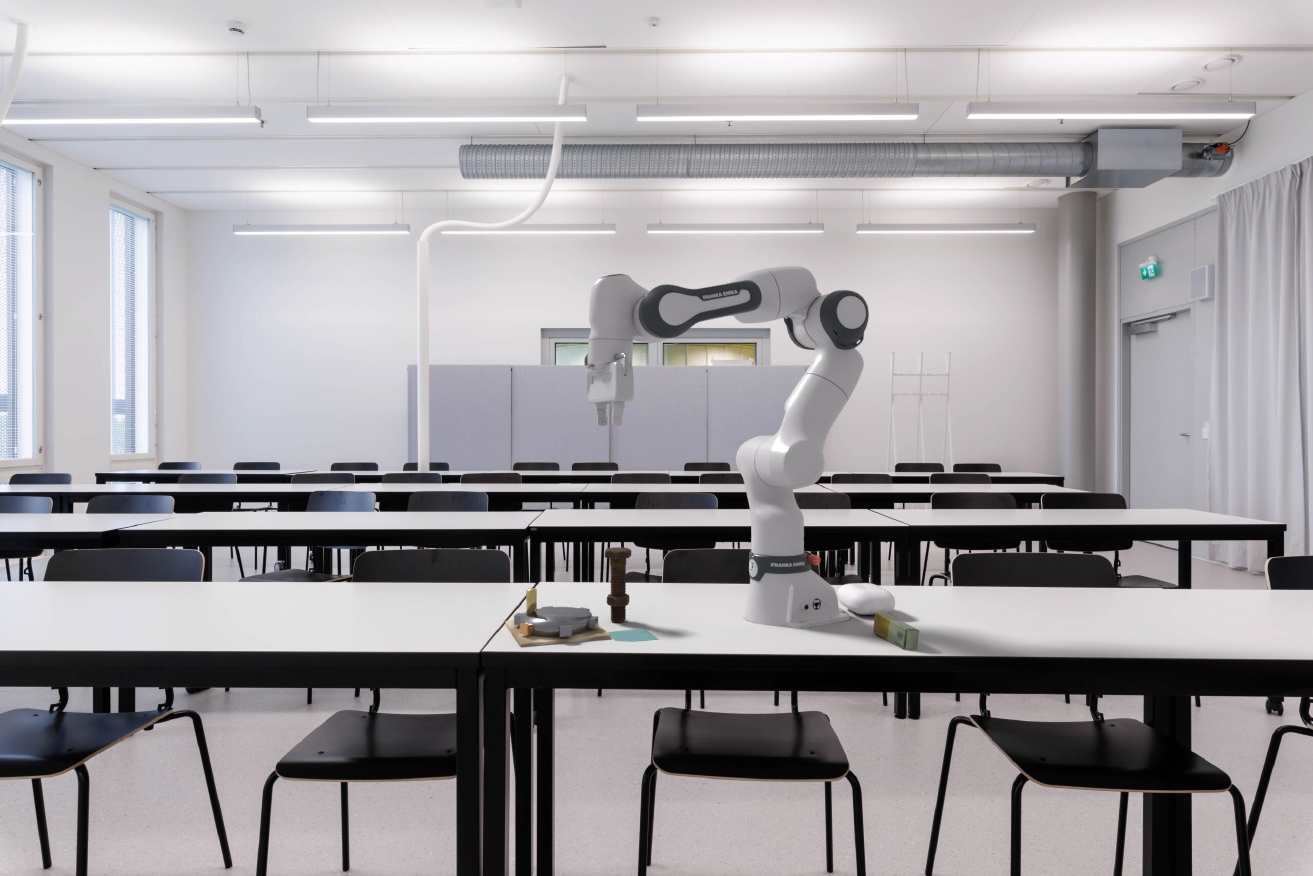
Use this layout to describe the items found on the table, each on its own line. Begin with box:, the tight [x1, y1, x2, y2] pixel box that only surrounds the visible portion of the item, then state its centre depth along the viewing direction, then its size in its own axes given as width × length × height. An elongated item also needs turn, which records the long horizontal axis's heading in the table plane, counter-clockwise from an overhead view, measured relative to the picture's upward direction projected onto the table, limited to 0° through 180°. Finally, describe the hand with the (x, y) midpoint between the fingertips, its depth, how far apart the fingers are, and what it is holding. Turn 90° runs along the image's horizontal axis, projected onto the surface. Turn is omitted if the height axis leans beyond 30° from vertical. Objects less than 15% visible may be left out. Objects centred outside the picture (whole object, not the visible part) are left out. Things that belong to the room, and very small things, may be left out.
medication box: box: [872, 613, 920, 651], centre depth 138 cm, size 12×3×4 cm, turn 12°
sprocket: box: [513, 587, 599, 637], centre depth 144 cm, size 16×15×7 cm
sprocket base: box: [504, 619, 611, 648], centre depth 144 cm, size 17×17×1 cm
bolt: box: [604, 546, 632, 623], centre depth 152 cm, size 6×5×15 cm
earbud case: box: [836, 582, 896, 616], centre depth 162 cm, size 10×13×5 cm
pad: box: [607, 627, 659, 643], centre depth 141 cm, size 8×8×1 cm
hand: (608, 425), depth 146 cm, fingers open, 8 cm apart
